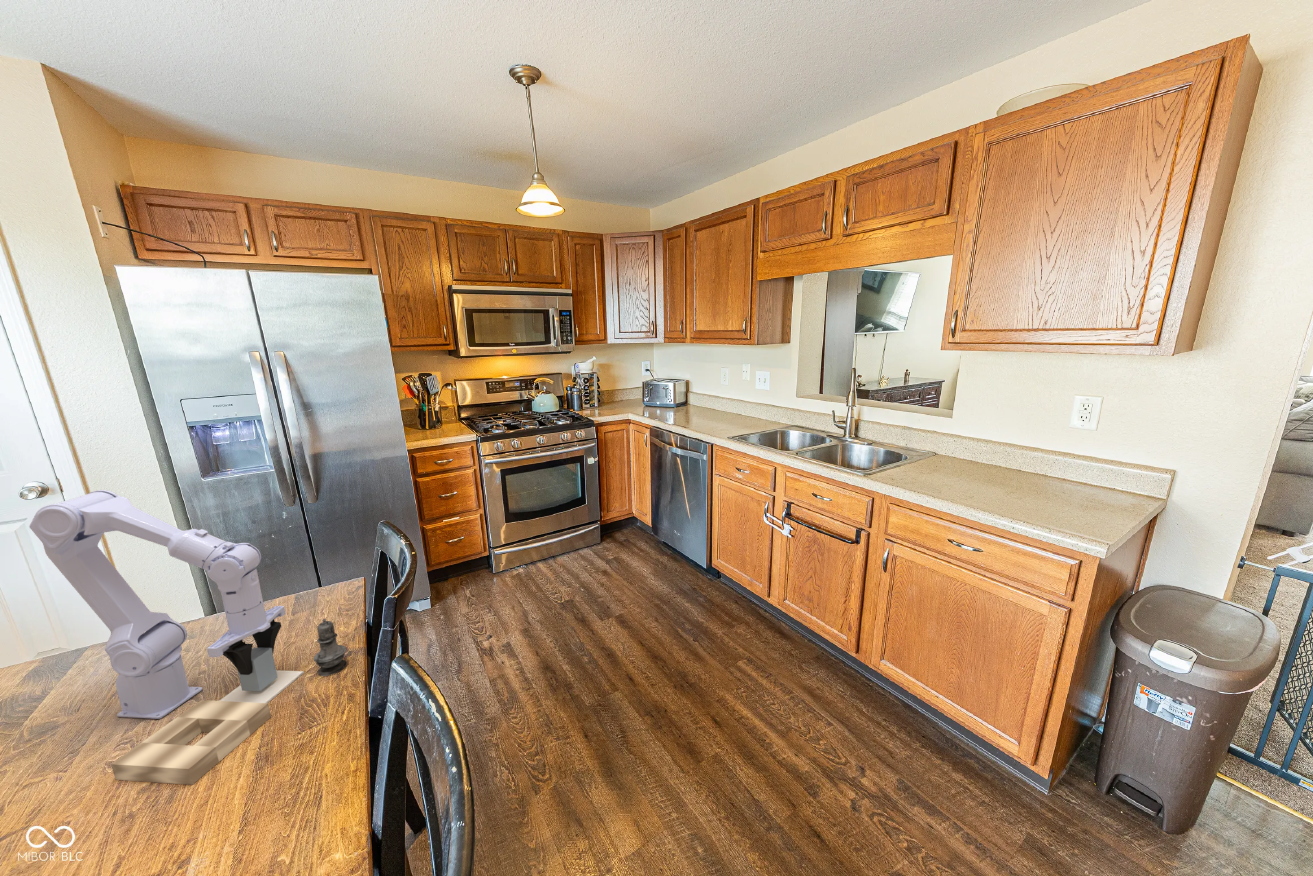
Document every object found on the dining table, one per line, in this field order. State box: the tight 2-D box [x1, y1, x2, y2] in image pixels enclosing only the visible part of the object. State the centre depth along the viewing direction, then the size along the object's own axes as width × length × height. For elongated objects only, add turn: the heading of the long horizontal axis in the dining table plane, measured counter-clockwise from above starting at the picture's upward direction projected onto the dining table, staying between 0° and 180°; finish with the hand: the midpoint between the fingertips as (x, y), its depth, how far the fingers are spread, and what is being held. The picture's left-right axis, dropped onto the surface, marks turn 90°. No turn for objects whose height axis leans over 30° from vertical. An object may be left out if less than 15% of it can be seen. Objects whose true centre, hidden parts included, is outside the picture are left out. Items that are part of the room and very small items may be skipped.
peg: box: [237, 646, 278, 691], centre depth 95 cm, size 4×4×7 cm
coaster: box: [219, 669, 305, 704], centre depth 96 cm, size 10×10×1 cm
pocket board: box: [110, 699, 272, 786], centre depth 82 cm, size 14×14×3 cm
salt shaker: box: [313, 618, 348, 677], centre depth 101 cm, size 6×6×12 cm
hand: (256, 665), depth 95 cm, fingers closed on peg, 4 cm apart
